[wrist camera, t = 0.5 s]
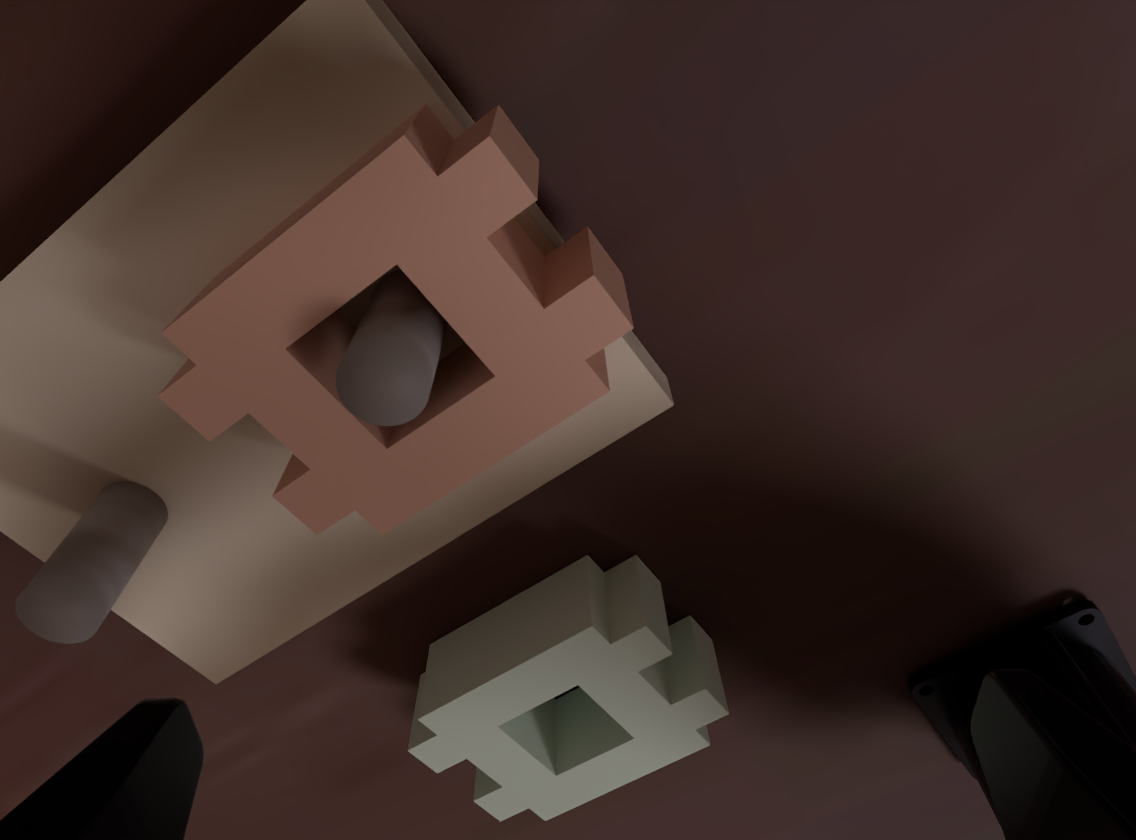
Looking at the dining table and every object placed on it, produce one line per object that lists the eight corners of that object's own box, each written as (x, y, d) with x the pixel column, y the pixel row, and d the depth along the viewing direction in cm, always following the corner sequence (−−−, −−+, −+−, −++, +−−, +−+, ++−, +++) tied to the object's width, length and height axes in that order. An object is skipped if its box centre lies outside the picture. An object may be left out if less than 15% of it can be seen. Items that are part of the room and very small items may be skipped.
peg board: (666, 377, 22) (699, 499, 17) (231, 648, 27) (164, 801, 22) (356, -35, 17) (282, -21, 12) (-112, 393, 22) (-294, 521, 17)
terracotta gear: (643, 303, 19) (658, 360, 17) (368, 485, 22) (344, 559, 19) (470, 66, 17) (456, 91, 14) (179, 306, 19) (121, 364, 16)
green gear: (725, 655, 28) (744, 729, 25) (519, 757, 30) (516, 834, 28) (619, 536, 25) (628, 606, 22) (402, 659, 27) (387, 735, 25)
